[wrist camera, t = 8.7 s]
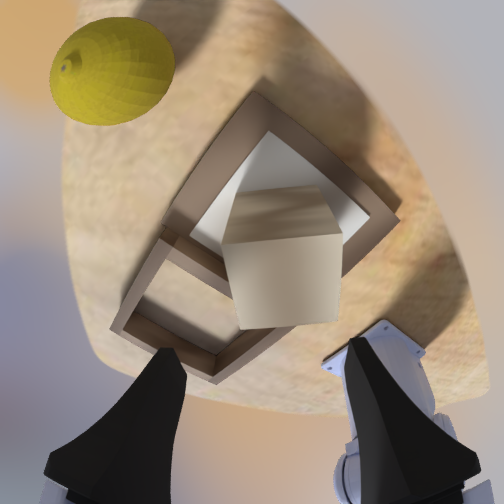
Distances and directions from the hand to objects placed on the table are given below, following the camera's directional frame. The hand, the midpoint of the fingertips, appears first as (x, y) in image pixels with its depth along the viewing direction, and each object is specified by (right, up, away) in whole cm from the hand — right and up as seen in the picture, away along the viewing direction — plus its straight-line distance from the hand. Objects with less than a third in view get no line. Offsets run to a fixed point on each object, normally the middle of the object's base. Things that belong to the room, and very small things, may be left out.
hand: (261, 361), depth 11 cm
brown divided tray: (-2, +3, +9) cm, 10 cm away
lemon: (-7, +15, +2) cm, 17 cm away
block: (+1, +6, +6) cm, 8 cm away
